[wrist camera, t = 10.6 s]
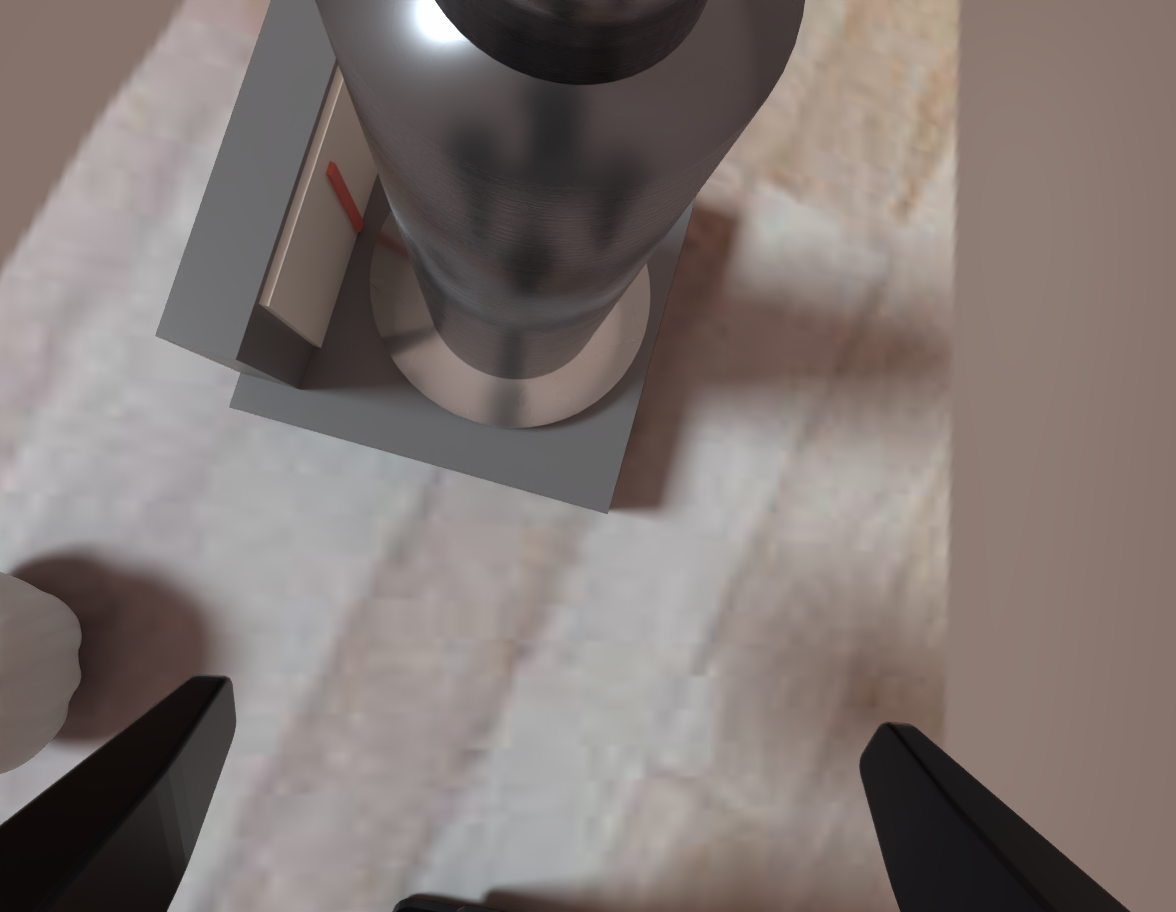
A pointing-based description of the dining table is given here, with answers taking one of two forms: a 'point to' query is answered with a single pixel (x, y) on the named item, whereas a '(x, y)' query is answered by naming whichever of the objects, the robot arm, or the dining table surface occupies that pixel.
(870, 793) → the robot arm
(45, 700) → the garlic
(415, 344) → the scale pan
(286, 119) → the scale
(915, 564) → the dining table surface
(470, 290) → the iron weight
